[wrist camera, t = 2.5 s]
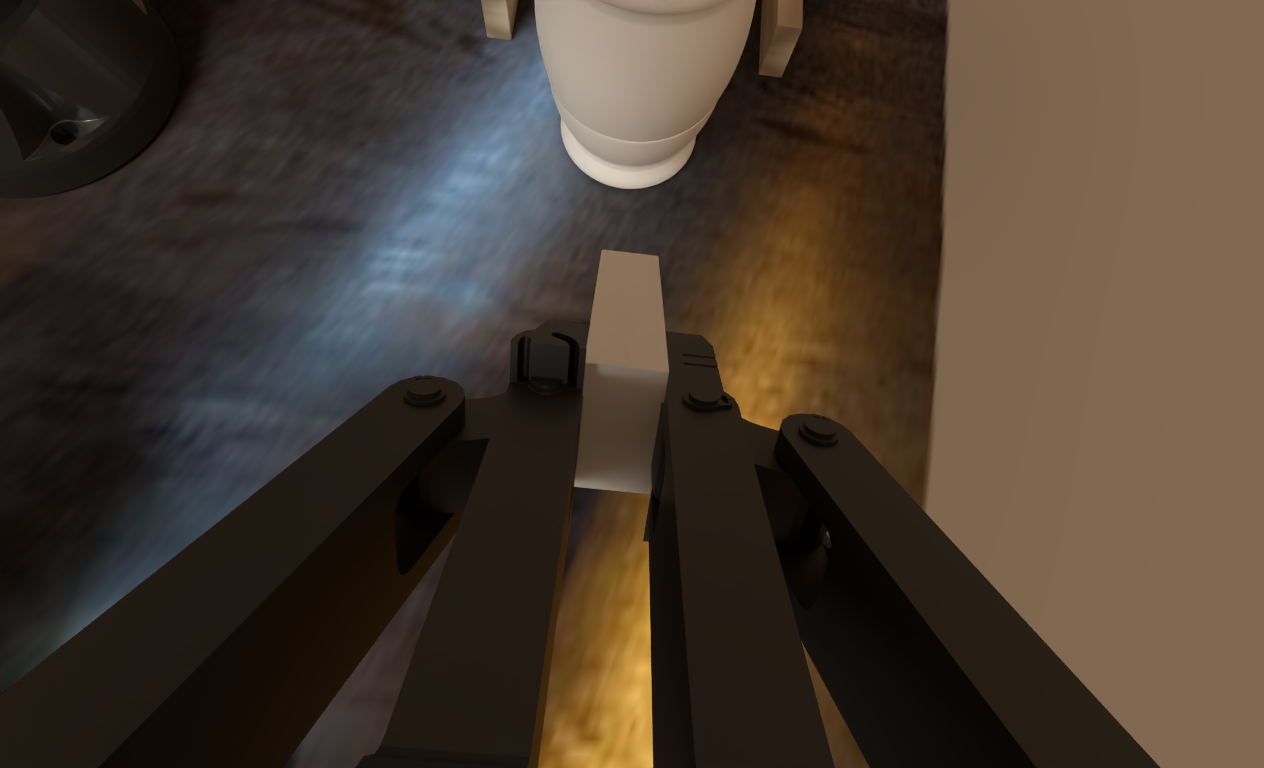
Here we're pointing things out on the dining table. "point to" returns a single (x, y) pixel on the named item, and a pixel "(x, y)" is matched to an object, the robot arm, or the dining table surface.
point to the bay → (775, 39)
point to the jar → (638, 79)
